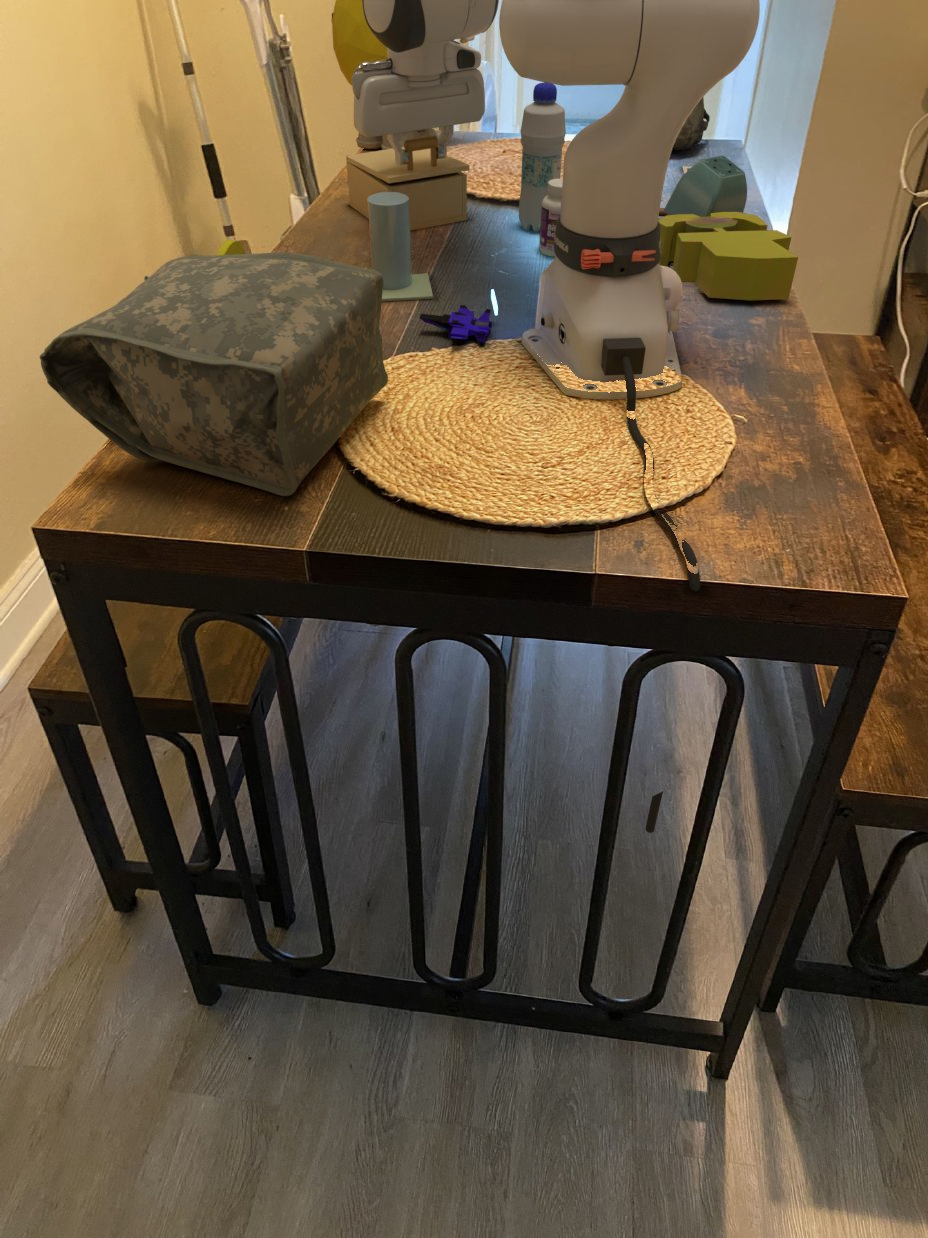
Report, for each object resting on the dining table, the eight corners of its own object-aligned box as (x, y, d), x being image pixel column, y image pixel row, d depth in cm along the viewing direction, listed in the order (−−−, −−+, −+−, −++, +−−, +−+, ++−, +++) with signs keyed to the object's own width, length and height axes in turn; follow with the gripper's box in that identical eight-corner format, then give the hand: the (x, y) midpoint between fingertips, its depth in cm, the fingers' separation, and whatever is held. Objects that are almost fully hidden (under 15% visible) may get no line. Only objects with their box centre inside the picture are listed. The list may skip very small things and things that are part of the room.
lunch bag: (390, 400, 103) (179, 349, 109) (386, 259, 91) (151, 211, 97) (295, 517, 88) (57, 450, 94) (276, 367, 76) (7, 302, 82)
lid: (469, 170, 140) (468, 134, 137) (389, 183, 136) (386, 147, 132) (421, 149, 152) (420, 116, 149) (346, 160, 147) (342, 126, 144)
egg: (683, 282, 120) (689, 257, 112) (675, 328, 119) (680, 305, 112) (637, 277, 120) (639, 251, 113) (629, 322, 120) (630, 299, 113)
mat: (433, 298, 123) (433, 295, 123) (358, 302, 122) (358, 299, 122) (428, 276, 129) (427, 273, 129) (356, 279, 128) (356, 276, 128)
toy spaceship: (495, 305, 117) (493, 321, 118) (426, 297, 117) (425, 314, 119) (486, 339, 109) (485, 356, 111) (413, 330, 110) (412, 347, 111)
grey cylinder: (418, 284, 125) (415, 200, 118) (382, 292, 124) (377, 207, 116) (396, 266, 130) (392, 185, 123) (361, 273, 128) (355, 191, 121)
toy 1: (476, 125, 190) (480, -53, 170) (474, 159, 172) (478, -35, 152) (347, 122, 190) (336, -57, 170) (331, 156, 172) (317, -39, 152)
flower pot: (764, 176, 135) (738, 232, 142) (725, 145, 138) (702, 201, 146) (722, 184, 131) (698, 241, 138) (683, 152, 135) (662, 209, 142)
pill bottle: (545, 259, 133) (550, 189, 127) (534, 246, 137) (537, 178, 131) (580, 255, 134) (586, 186, 128) (568, 243, 138) (573, 174, 132)
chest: (466, 219, 146) (466, 174, 141) (389, 234, 141) (387, 187, 137) (423, 192, 156) (421, 149, 152) (349, 205, 151) (346, 161, 147)
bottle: (556, 235, 141) (566, 88, 127) (513, 232, 142) (518, 86, 128) (562, 221, 146) (571, 78, 132) (520, 218, 147) (525, 75, 133)
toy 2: (644, 256, 135) (694, 307, 120) (650, 215, 131) (702, 262, 116) (746, 250, 137) (807, 299, 122) (754, 210, 133) (818, 255, 118)
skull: (737, 79, 162) (674, 12, 168) (651, 143, 164) (593, 74, 171) (740, 153, 180) (683, 90, 186) (663, 209, 183) (609, 145, 189)
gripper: (360, 67, 124) (367, 176, 133) (491, 52, 131) (489, 156, 140) (342, 58, 128) (350, 164, 137) (470, 44, 135) (469, 146, 144)
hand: (421, 160), depth 139 cm, fingers closed on lid, 5 cm apart
